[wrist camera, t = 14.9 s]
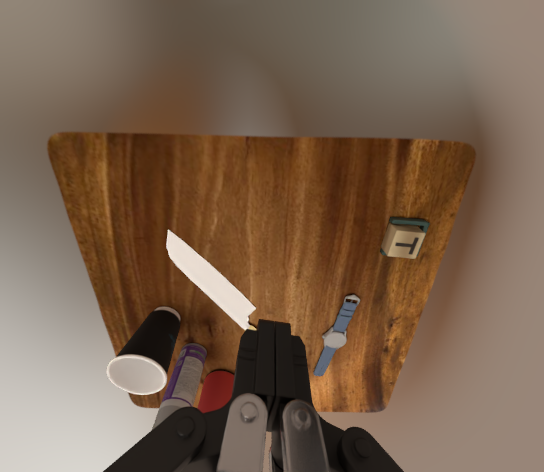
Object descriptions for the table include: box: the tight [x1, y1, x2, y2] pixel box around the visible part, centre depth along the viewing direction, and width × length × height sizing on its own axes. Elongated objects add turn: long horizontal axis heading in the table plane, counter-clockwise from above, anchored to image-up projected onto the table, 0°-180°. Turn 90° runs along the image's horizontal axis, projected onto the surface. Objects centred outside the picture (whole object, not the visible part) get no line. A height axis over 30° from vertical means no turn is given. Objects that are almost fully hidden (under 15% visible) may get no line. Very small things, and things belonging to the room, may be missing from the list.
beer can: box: [198, 371, 234, 413], centre depth 47 cm, size 7×7×12 cm
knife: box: [166, 230, 256, 331], centre depth 44 cm, size 1×34×5 cm
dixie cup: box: [107, 307, 181, 395], centre depth 40 cm, size 8×8×11 cm
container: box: [152, 343, 207, 430], centre depth 42 cm, size 5×5×15 cm
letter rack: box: [380, 217, 430, 256], centre depth 37 cm, size 5×6×1 cm
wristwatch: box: [314, 295, 360, 376], centre depth 46 cm, size 4×20×1 cm, turn 167°
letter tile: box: [381, 223, 426, 259], centre depth 37 cm, size 4×4×3 cm
